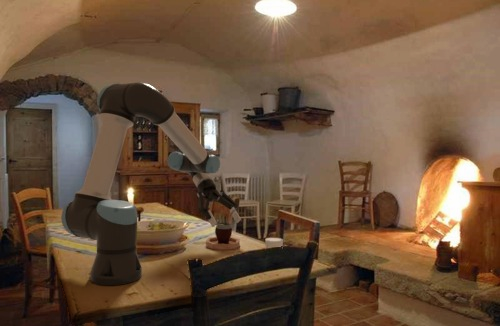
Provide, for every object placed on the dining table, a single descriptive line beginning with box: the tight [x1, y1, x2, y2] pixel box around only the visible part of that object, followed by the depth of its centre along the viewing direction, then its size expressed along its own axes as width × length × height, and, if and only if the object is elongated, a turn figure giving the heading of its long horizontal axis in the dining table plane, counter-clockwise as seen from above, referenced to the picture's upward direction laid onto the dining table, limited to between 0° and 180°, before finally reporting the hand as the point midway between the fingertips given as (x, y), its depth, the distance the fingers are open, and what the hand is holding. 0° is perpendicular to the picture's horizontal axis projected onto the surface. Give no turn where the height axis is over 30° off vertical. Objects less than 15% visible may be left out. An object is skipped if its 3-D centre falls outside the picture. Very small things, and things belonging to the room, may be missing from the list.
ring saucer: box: [205, 236, 241, 251], centre depth 161 cm, size 14×14×2 cm
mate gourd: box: [214, 207, 238, 244], centre depth 161 cm, size 8×8×15 cm
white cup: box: [265, 237, 284, 249], centre depth 145 cm, size 7×7×7 cm
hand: (227, 223), depth 159 cm, fingers open, 13 cm apart
